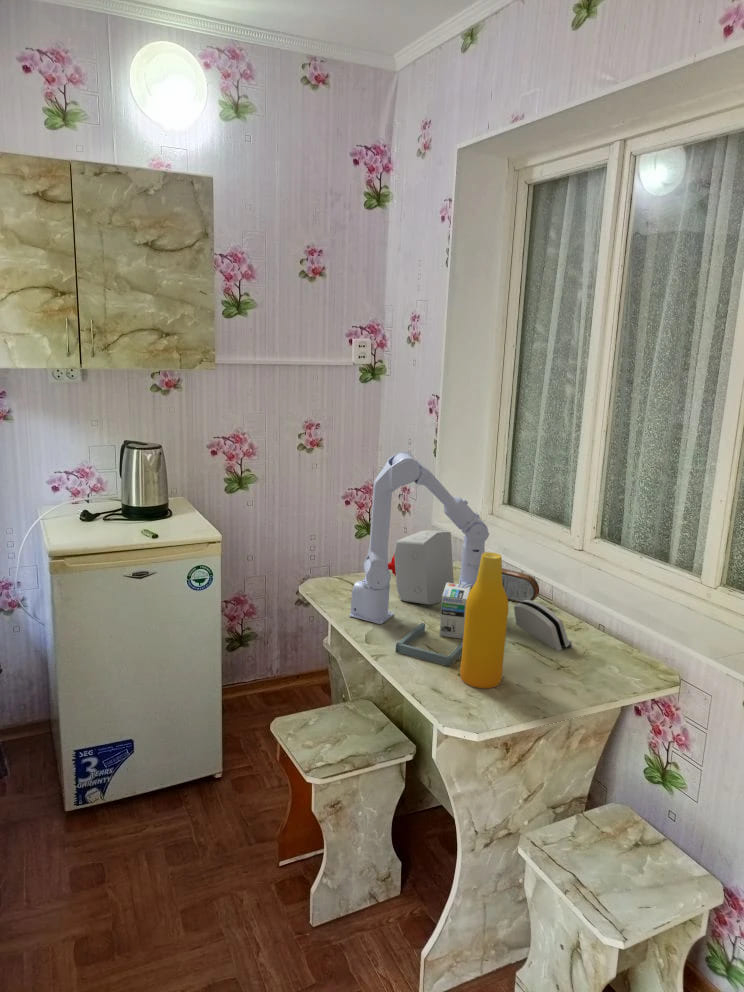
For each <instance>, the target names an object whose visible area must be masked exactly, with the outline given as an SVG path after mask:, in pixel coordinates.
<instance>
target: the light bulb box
mask: <svg viewBox="0 0 744 992" xmlns="http://www.w3.org/2000/svg"><path fill="white" fill-rule="evenodd" d="M458 585H459V583H446V586H445V589H444V592H443V595H442V601H441V608H440V609H441V610H440V623H439V637H446V638H453V639H461V640H463V635H464V623H465V611H466V601H467V597H468V595H469V593H470V591H471V586H469V587H466V588H461V587H458ZM460 586H462V584H460ZM465 586H467V585H465ZM465 586H463V587H465Z"/></svg>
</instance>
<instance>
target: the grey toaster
mask: <svg viewBox="0 0 744 992" xmlns="http://www.w3.org/2000/svg"><path fill="white" fill-rule="evenodd" d="M513 609H514V617H515V618H514V619H515V625H516V627H518V628H519V629H521V630H522V631H524V632H525V633H527V634H529V635H530V636H532V637H534V638H535V639H537V640H538V641H540V642H541V643H543V644H545V645H547V646H548V647H550V648H551V649H554V651H556V652H560V651H561V652H562V650H563V648H568V647H569V648H571V649H573V648H574V646H573V642H572V641H571V640H569V639H568V635H567V633H566V629H565V626H564V623H563V620H562V619H561V618H560V617H559V616H558V615H556V614H555V612H553V611H552V610H550V609H549V608H548V607H547V606H545V605H543V604H541V603H539V602H537V601H534V600H533V601H531V600H524V601H521V603H518V602H517V603H516V604H515V606H514V607H513Z"/></svg>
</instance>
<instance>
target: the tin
mask: <svg viewBox="0 0 744 992" xmlns="http://www.w3.org/2000/svg"><path fill="white" fill-rule="evenodd" d="M502 584H503V587H504V590H505V592H506V595H507V599H508V601H511V602H515V603H517V604H518V603H519V604H521V601H524V600H531V601H534V600H536V599H537V598H538V596H539V593H540V586H539V583H538V580H536V579H535V577H534V576H532V575H530V574H527V573H523V572H518V571H515V570H511V569H507V568H504V567H503V568H502Z"/></svg>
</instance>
